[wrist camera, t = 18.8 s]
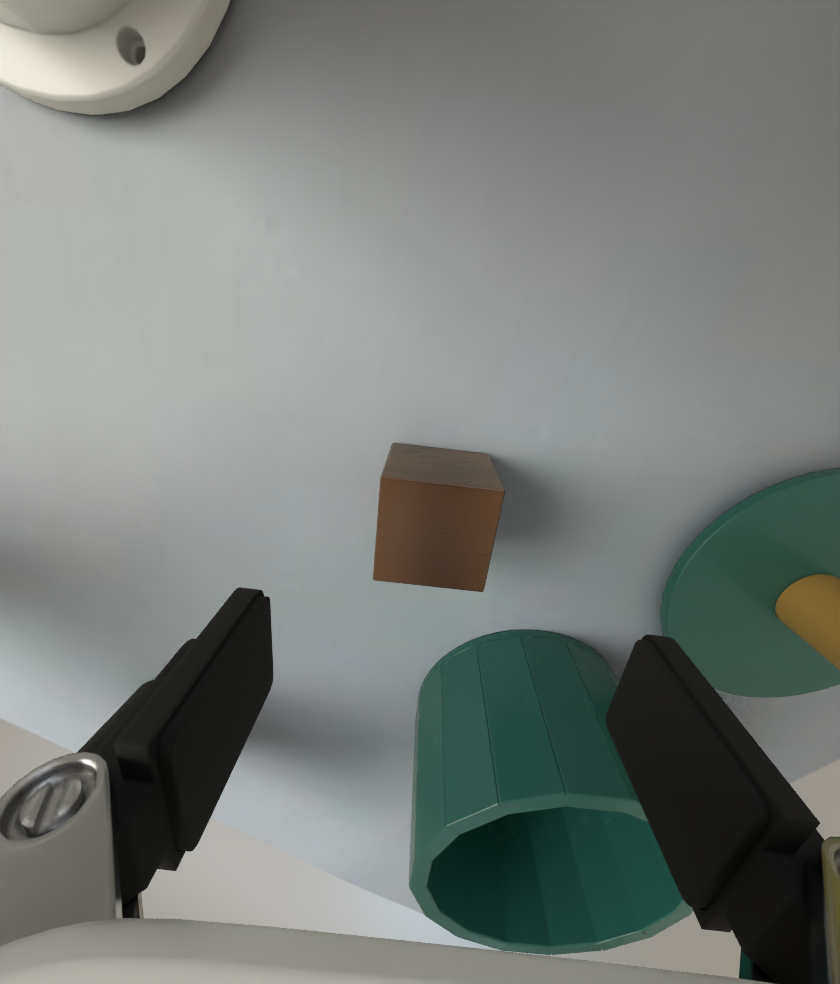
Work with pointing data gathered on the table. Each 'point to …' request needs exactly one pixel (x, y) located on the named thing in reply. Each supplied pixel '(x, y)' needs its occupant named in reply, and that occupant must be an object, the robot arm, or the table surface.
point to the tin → (531, 803)
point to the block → (437, 517)
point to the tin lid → (764, 592)
